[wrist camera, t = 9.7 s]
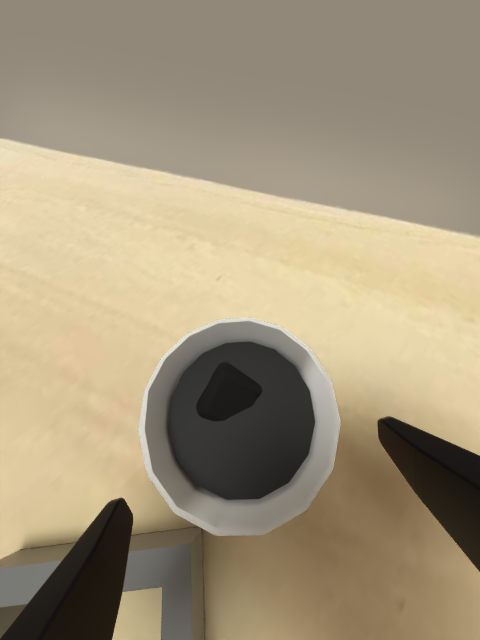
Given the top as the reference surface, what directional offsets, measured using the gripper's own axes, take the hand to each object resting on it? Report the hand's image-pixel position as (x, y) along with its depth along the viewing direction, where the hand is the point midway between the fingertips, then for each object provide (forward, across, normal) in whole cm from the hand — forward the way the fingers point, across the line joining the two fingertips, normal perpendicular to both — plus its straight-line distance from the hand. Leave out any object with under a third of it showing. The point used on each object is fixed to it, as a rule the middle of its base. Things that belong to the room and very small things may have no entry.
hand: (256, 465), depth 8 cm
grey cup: (+8, 0, +5) cm, 9 cm away
